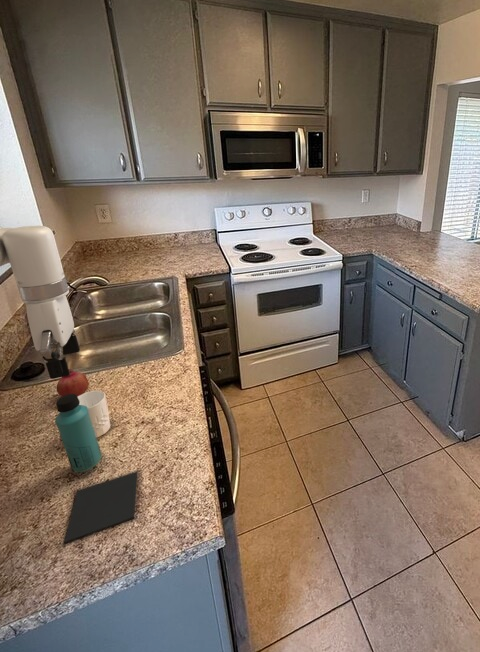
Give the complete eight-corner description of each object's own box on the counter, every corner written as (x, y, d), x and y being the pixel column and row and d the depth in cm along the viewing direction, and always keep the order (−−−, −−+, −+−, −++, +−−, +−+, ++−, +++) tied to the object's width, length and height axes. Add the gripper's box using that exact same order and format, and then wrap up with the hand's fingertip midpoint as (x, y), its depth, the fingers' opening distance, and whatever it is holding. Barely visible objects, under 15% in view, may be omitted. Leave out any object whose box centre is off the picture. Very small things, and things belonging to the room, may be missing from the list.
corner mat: (65, 543, 69) (64, 542, 69) (77, 492, 79) (77, 490, 79) (134, 518, 73) (133, 516, 73) (137, 472, 84) (137, 471, 84)
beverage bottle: (108, 453, 89) (89, 386, 83) (97, 476, 83) (75, 405, 77) (80, 457, 88) (58, 390, 82) (66, 480, 82) (41, 410, 76)
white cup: (76, 445, 92) (66, 413, 89) (82, 425, 99) (73, 395, 96) (111, 435, 95) (103, 404, 92) (114, 416, 102) (106, 387, 99)
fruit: (56, 408, 106) (47, 379, 102) (65, 392, 113) (57, 364, 110) (87, 402, 108) (79, 374, 105) (94, 386, 115) (87, 359, 112)
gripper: (35, 278, 76) (56, 348, 82) (3, 309, 61) (31, 392, 67) (76, 273, 79) (93, 341, 85) (55, 302, 64) (78, 382, 70)
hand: (66, 364), depth 76 cm, fingers open, 9 cm apart
